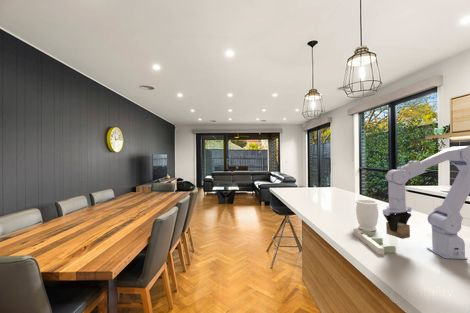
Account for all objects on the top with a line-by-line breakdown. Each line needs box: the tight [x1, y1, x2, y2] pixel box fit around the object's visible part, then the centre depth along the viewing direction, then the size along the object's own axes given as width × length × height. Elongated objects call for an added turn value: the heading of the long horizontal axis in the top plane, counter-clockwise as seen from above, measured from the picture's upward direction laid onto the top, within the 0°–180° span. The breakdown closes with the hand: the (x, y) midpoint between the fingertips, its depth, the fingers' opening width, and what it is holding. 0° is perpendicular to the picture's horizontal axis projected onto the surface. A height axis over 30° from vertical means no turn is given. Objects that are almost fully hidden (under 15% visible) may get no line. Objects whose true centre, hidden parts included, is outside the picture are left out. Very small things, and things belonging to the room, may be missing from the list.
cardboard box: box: [385, 221, 411, 240], centre depth 92 cm, size 6×4×5 cm
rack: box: [352, 228, 397, 256], centre depth 100 cm, size 24×8×3 cm, turn 174°
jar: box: [355, 199, 379, 232], centre depth 119 cm, size 11×10×15 cm
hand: (397, 230), depth 92 cm, fingers closed on cardboard box, 4 cm apart
